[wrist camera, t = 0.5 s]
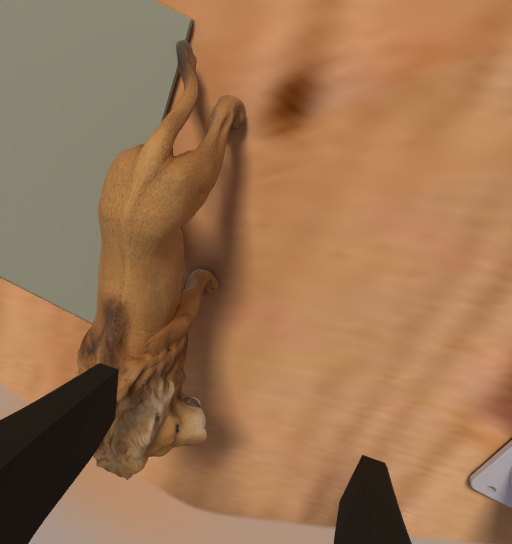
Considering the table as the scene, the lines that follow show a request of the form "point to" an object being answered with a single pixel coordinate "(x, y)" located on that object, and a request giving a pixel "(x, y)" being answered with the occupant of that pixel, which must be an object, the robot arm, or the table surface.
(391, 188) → the table surface
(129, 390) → the lion figurine
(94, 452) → the robot arm
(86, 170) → the mat
